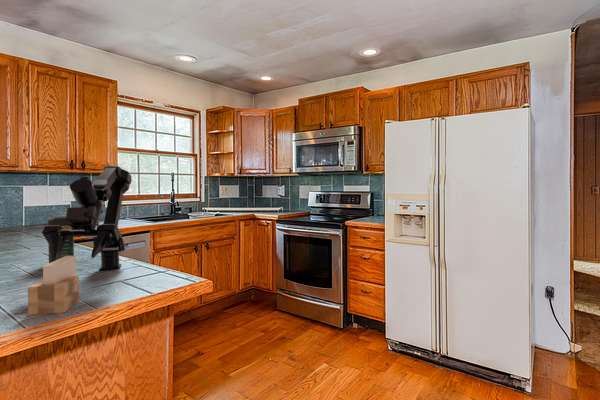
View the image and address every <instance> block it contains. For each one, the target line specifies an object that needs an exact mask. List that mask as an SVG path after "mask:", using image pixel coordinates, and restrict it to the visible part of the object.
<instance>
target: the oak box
mask: <svg viewBox="0 0 600 400" xmlns="http://www.w3.org/2000/svg"><path fill="white" fill-rule="evenodd" d="M79 277H80V276H79V275H76V276H70V277H68V278H66V279H65V280H63V281H61V282H59V283H58V284H53V285H43V279H40V280H39V281H36V282H35V283H32V284H31V285H29V286H27V308H28V309H27V313H28V316H30V315H45V314H61V313H66V312H67V311H68V310H70V309H71V308H72V307H74V306H75V305H76V304H77V303H78V302H79V301H80V280H79V279H80V278H79Z"/></svg>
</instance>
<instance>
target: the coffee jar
mask: <svg viewBox="0 0 600 400" xmlns="http://www.w3.org/2000/svg"><path fill="white" fill-rule="evenodd" d="M69 223H70V221H69V220H66V215H54V216H52V217H51V218H49V219H47V226H48V225H61V227H62V229H63V230H64V229H72V227H70V226H69ZM74 238H75V237H66V240H65V242H63V243H64V244H65V245H64V247H63V249H62V251H61V253H60V256H59V257H58V259H60V258H62V257H65V256H75V248H74V247H75V239H74ZM47 244H48V264H49V263H51V262H53V261H56V260H55V259H54V252H53V245H52V244H50V243H48V242H47ZM58 259H57V260H58Z"/></svg>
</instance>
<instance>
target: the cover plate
mask: <svg viewBox="0 0 600 400" xmlns="http://www.w3.org/2000/svg"><path fill="white" fill-rule="evenodd" d="M70 276H77V255H74V256H65V257H62V258H60V259H58V260H56V261H53V262H51V263H49V262H48V263H47V264H44V265H43V266H42V277H43V278H42V280H43V285H53V284H58V283H59V282H61V281H63V280H65V279H66V278H68V277H70Z"/></svg>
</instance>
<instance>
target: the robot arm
mask: <svg viewBox="0 0 600 400" xmlns="http://www.w3.org/2000/svg"><path fill="white" fill-rule="evenodd" d="M131 184H132V174H130V172H129V171H128V170H125V169H123V168H121V166H119V165H105V166H104V167H103V170H102V172H100V174H99V176H97V178H96V179H95V180H90V177H89V176H80V178H79V179H77V180H74V181H72V183H70V184H69V189H70V191H71V193H72V195H73V198H74V200H75V202H76V203H77V205H80V206H79V207H73V206H71V207H67V208H66V214H65V216H66V220H69V221H70V223H69V226H70V227H72V229H64V230H63V229H62V227H61V225H48V224H47V225H45V226H43V229H42V230H41V234H42V236H44V238H45V240H46V242H47V244H48V243H50V244H52V245H53V252H54V259H55V260H57V259H58V257H59V256H60V253H61V251H62V249H63V247H64V245H65V244H64V243H63V242H65V240H66V237H74V238H93V240H92V241H93V248H92V251H91V259H94V258H95V257H97V255H99V253H100V260H101V262H100V264H101V265H100V267H98V268H99V269H98V271H107V270H108V271H110V270H119V269H121V266H122V263H120V252H123V251H125V250H126V249H125V248H126V247H125V244H126V243H125V241H124V239H123V237H122V236H123V235H122V233H121V231H120V228H119V227H118V226H119V221H120V214H121V210H122V203H123V198H124V194H125V193H127V192H128V191H129V189H130V186H131ZM102 202H107V204H106V209H105V214H104V220H103V223H102V224H100V222H99V219H100V216H101V214H103V212H104V211H103V206H104V205H103V203H102Z"/></svg>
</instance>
